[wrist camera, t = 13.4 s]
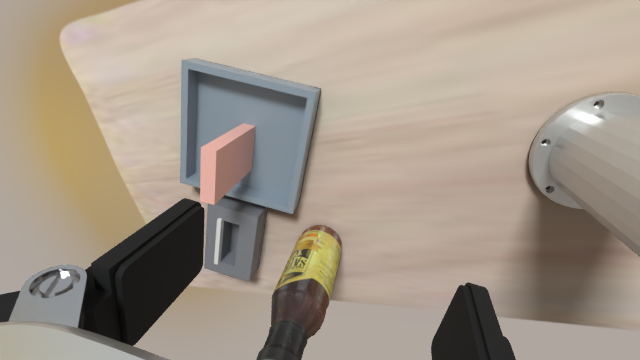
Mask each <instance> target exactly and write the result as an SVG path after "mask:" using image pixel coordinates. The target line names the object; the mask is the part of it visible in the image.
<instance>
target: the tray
mask: <svg viewBox="0 0 640 360" xmlns="http://www.w3.org/2000/svg"><path fill="white" fill-rule="evenodd" d="M320 92H321V88H316V87H312V86H308V85H304V84H300V83H296V82H292V81H287V80H283V79H279V78H275V77H271V76H267V75H263V74H258V73H254V72H250V71H246V70H242V69H238V68H234V67H229V66H225V65H221V64H217V63H213V62H209V61H205V60H200V59H186V60H182V83H181V169H180V183H183V184H187V185H191V186H194V187H198V188H200V169H201V147H202V146H204V145H206V144H208V143H209V142H211V141H213V140H215V139H216V138H218V137H220V136H222V135H223V134H225V133H227V132H229V131H230V130H232V129H234V128H236V127H237V126H239V125H241V124H243V123H245V124H249V125H253V126H255V137H254V148H253V160H252V170H251V171H250V172H249V173H248V174H247V175H246V176H245V177H244V178H242V179H241V180H240V181H239V182H238V183H237V184H236V185H235V186H234V187H233V188H232V189H231V190H230V191H229V192H228V193H227V194H226V196H230V197H233V198H237V199H240V200H244V201H247V202H251V203H254V204H258V205H262V206H265V207H269V208H272V209H276V210H279V211H283V212H286V213H290V214H293V213H294V211H295V209H296V207H297V205H298V203H299V198H300V193H301V188H302V183H303V178H304V173H305V168H306V163H307V158H308V153H309V148H310V143H311V137H312V132H313V127H314V122H315V117H316V112H317V107H318V102H319V97H320Z"/></svg>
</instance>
